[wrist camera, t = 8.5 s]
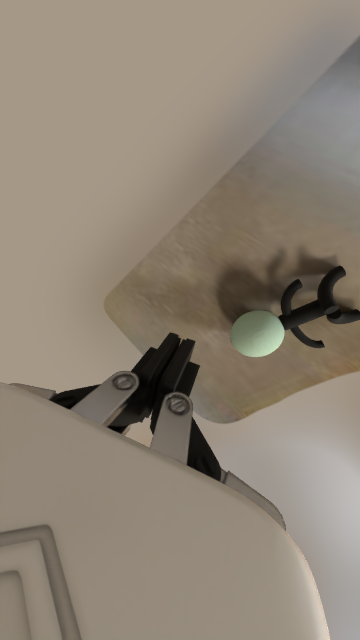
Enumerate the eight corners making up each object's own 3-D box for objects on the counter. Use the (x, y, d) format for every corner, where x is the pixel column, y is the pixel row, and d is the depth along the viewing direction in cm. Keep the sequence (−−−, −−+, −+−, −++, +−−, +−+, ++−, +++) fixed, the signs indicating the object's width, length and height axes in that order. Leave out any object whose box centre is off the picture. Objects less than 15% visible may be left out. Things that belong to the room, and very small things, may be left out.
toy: (330, 254, 24) (217, 309, 29) (362, 260, 19) (217, 326, 24) (354, 320, 27) (246, 360, 32) (389, 343, 21) (251, 386, 26)
